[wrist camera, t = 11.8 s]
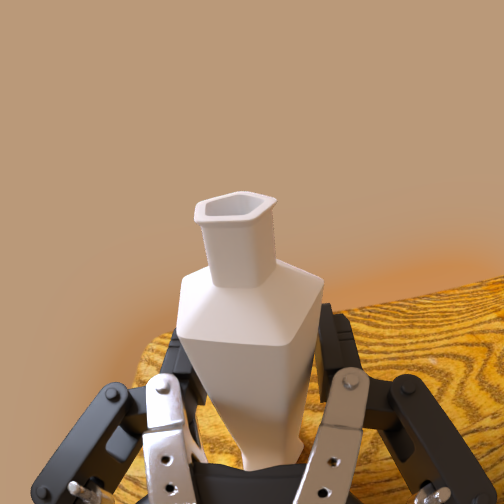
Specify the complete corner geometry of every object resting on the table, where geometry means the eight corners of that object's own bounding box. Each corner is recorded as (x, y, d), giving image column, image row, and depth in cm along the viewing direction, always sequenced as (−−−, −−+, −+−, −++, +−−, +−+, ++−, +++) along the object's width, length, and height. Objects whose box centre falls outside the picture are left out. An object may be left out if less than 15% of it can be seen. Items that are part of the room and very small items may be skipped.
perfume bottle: (318, 475, 13) (362, 228, 6) (241, 489, 13) (136, 263, 5) (301, 414, 17) (300, 172, 10) (233, 426, 17) (167, 191, 9)
